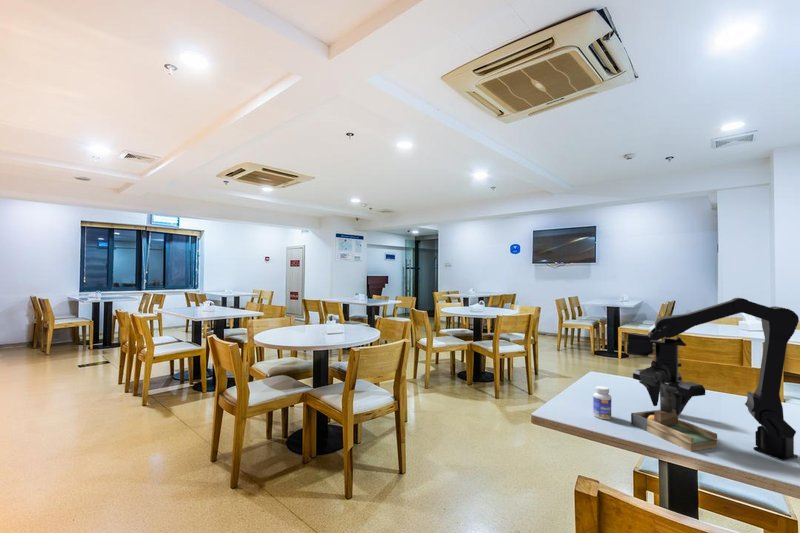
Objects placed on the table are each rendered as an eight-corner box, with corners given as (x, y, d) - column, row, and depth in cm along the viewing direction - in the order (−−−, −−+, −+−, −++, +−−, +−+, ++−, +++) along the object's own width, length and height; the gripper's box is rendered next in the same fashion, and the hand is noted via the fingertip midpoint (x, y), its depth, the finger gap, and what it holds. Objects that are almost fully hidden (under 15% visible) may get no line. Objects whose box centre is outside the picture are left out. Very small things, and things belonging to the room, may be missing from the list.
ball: (650, 417, 119) (657, 428, 117) (642, 418, 118) (649, 429, 116) (658, 412, 117) (665, 423, 114) (650, 413, 116) (657, 425, 113)
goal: (671, 427, 116) (671, 416, 116) (646, 431, 113) (646, 419, 113) (654, 420, 121) (655, 410, 121) (631, 424, 118) (631, 413, 118)
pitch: (717, 446, 103) (717, 433, 103) (690, 451, 101) (690, 438, 101) (671, 427, 116) (671, 416, 116) (646, 431, 113) (646, 419, 113)
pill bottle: (601, 420, 121) (602, 390, 121) (589, 414, 126) (589, 385, 126) (615, 418, 123) (615, 389, 123) (602, 412, 128) (602, 384, 128)
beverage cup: (687, 418, 123) (687, 358, 124) (663, 416, 125) (663, 357, 125) (676, 410, 130) (676, 354, 131) (653, 409, 132) (653, 352, 132)
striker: (679, 424, 112) (679, 398, 112) (662, 427, 110) (662, 400, 110) (670, 420, 115) (670, 395, 115) (652, 423, 113) (652, 396, 113)
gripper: (619, 353, 119) (619, 401, 119) (677, 368, 101) (677, 425, 101) (646, 351, 122) (646, 399, 122) (706, 365, 105) (706, 421, 104)
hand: (666, 410), depth 112 cm, fingers open, 7 cm apart
